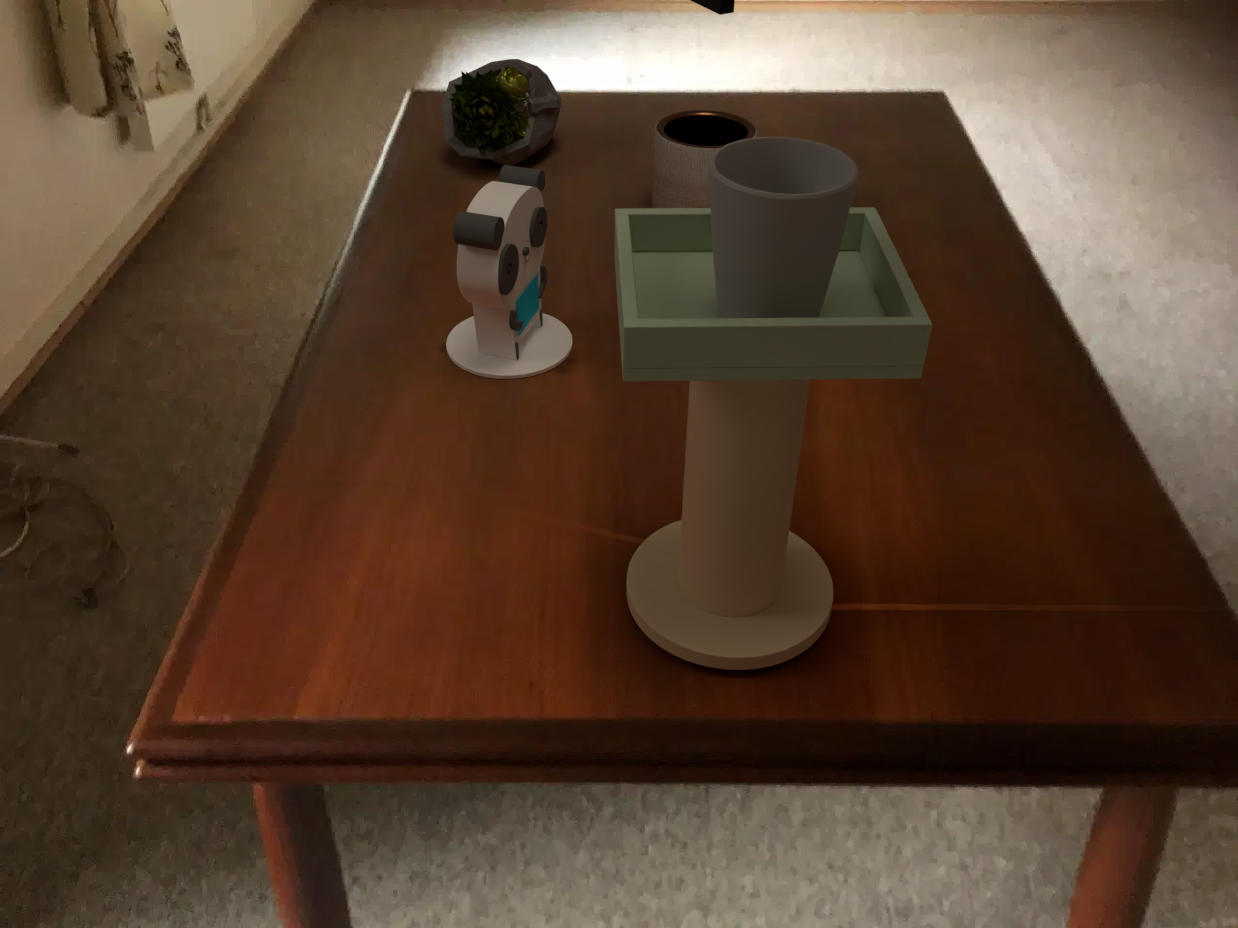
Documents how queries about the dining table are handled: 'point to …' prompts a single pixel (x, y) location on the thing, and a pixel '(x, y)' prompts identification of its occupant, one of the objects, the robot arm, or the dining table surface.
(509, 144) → the potted plant
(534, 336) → the panda figurine
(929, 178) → the dining table surface
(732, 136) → the planter
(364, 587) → the dining table surface
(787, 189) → the cup
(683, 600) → the tray
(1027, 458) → the dining table surface
